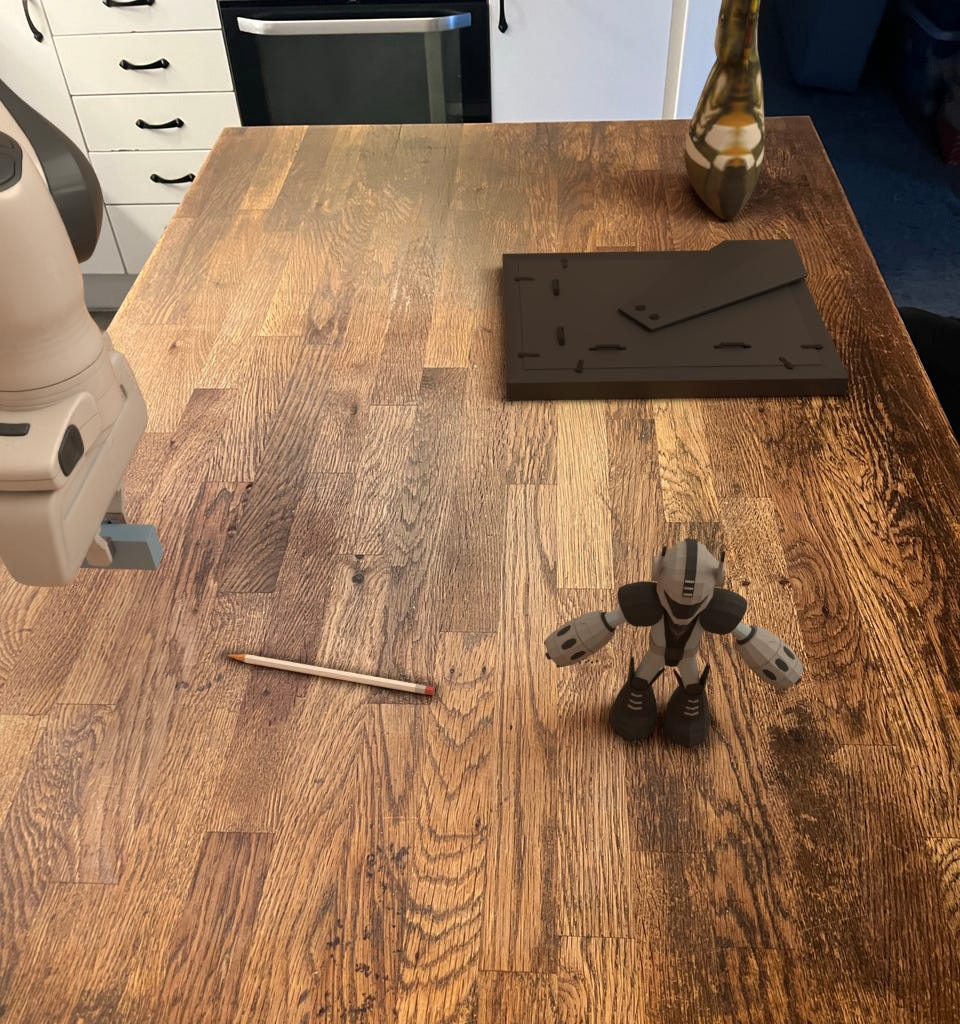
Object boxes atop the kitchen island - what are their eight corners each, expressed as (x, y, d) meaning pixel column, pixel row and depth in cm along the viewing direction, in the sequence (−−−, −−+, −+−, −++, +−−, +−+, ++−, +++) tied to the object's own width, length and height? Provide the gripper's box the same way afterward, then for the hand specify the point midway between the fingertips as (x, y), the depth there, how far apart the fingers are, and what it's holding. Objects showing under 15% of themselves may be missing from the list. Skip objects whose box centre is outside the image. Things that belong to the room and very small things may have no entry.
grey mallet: (167, 544, 79) (157, 515, 77) (153, 579, 77) (143, 550, 75) (33, 541, 80) (20, 512, 78) (14, 575, 77) (0, 546, 75)
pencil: (432, 697, 84) (431, 692, 83) (226, 661, 87) (224, 655, 86) (434, 690, 84) (434, 685, 84) (230, 654, 87) (228, 649, 87)
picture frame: (787, 265, 133) (502, 270, 134) (793, 238, 131) (502, 244, 131) (844, 395, 113) (506, 400, 113) (852, 367, 110) (506, 373, 110)
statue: (766, 222, 142) (824, -73, 116) (691, 225, 142) (732, -70, 116) (740, 173, 153) (788, -105, 128) (670, 176, 153) (704, -102, 127)
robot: (779, 711, 82) (840, 527, 67) (783, 758, 79) (847, 576, 64) (543, 686, 84) (552, 502, 69) (537, 731, 81) (545, 549, 66)
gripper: (56, 313, 74) (111, 462, 84) (-58, 485, 60) (23, 639, 70) (139, 313, 74) (184, 464, 84) (43, 487, 60) (110, 642, 70)
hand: (110, 545), depth 77 cm, fingers closed on grey mallet, 2 cm apart
